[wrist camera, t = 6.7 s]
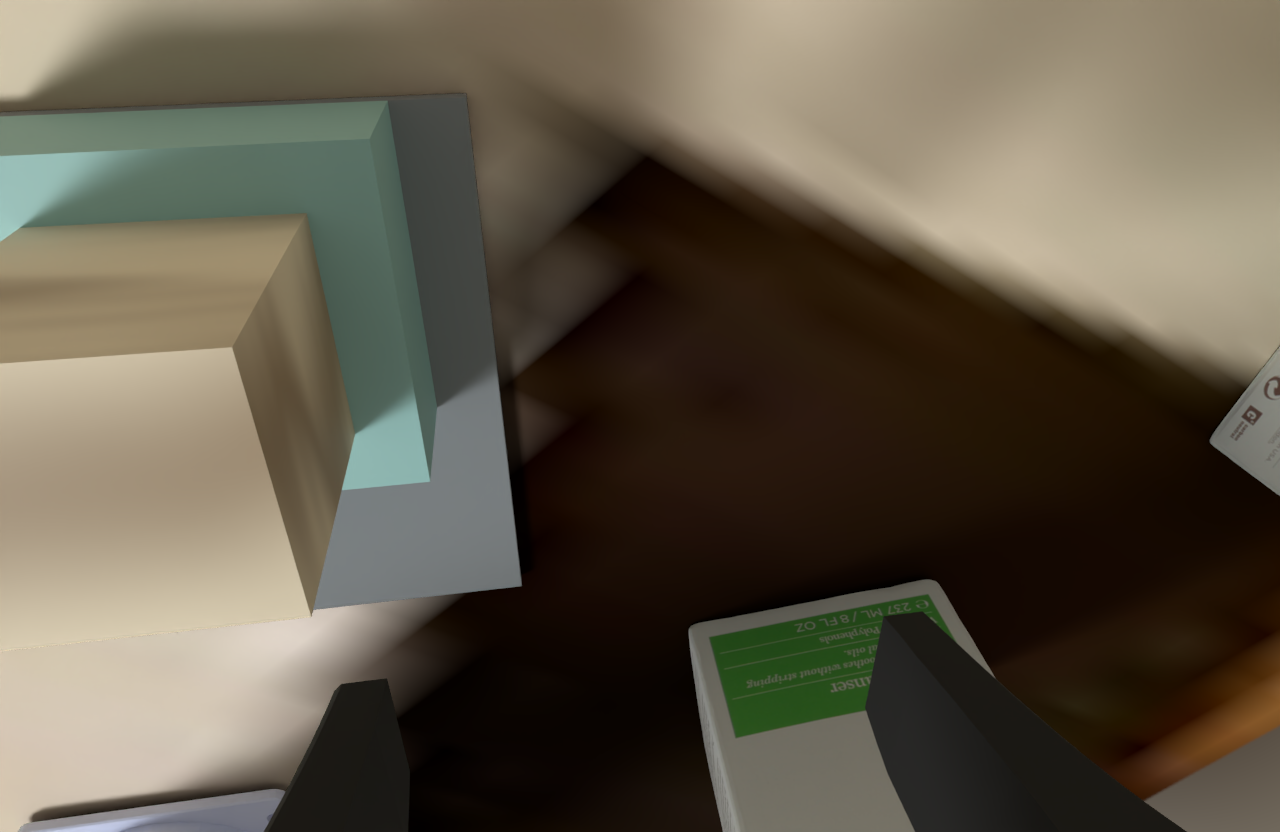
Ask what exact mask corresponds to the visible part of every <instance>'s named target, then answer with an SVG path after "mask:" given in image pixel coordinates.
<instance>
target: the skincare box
mask: <svg viewBox="0 0 1280 832" xmlns="http://www.w3.org/2000/svg"><path fill="white" fill-rule="evenodd" d="M921 611H923V612H924V613H925V614H926V615H927V616H928V617H929V618H930V619H931V620H932V621H934V622H935V623H936V624H937V625H938V626H939V627H940V628H941V629H942V630H943V631H944V632H946V633H947V634H948V635H949V636H950V637H951V638H952V639H953V640H954V641H955V642H956V643H957V644H958V645H960V646H961V647H962V648H963V649H964V650H965V651H966V652H967V653H968V654H969V655H970V656H971V657H972V658H974V659H975V660H976V661H977V662H978V663H979V664H980V665H981V666H982V667H983V668H984V669H985V670H987V671H988V672H989V673H990V674H991V675H992V676H993V677H994V675H993V673H992V672H991V670H990V668H989V667H988V665H987V663H986V662H985V660H984V658H983V657H982V655H981V653H980V652H979V650H978V648H977V647H976V645H975V643H974V641H973V640H972V638H971V636H970V635H969V633H968V631H967V630H966V628H965V627H964V625H963V624H962V622H961V621H960V619H959V617H958V615H957V614H956V612H955V610H954V608H953V607H952V605H951V603H950V602H949V600H948V598H947V596H946V595H945V593H944V591H943V590H942V588H941V587H940V585H939V584H938V583H937V582H936V581H933V580H929V579H925V580H919V581H914V582H909V583H905V584H901V585H897V586H893V587H888V588H881V589H875V590H869V591H863V592H857V593H851V594H846V595H841V596H836V597H832V598H827V599H822V600H817V601H812V602H807V603H802V604H797V605H792V606H787V607H782V608H777V609H771V610H766V611H761V612H756V613H750V614H745V615H739V616H735V617H730V618H724V619H717V620H711V621H706V622H701V623H697V624H694V625H692V626H690V628H689V643H690V652H691V660H692V667H693V674H694V681H695V688H696V695H697V702H698V708H699V715H700V721H701V727H702V733H703V739H704V745H705V750H706V755H707V760H708V765H709V770H710V774H711V779H712V784H713V788H714V793H715V797H716V802H717V806H718V811H719V815H720V820H721V825H722V829H723V832H915V831H914V829H913V826H912V824H911V822H910V820H909V818H908V816H907V814H906V812H905V810H904V808H903V805H902V803H901V801H900V799H899V797H898V795H897V793H896V791H895V789H894V786H893V784H892V782H891V780H890V778H889V776H888V773H887V770H886V768H885V765H884V762H883V759H882V756H881V754H880V751H879V748H878V745H877V742H876V739H875V736H874V733H873V730H872V727H871V724H870V721H869V718H868V715H867V712H866V709H865V705H866V700H867V696H868V691H869V686H870V681H871V676H872V671H873V666H874V661H875V656H876V651H877V646H878V641H879V636H880V631H881V626H882V621H883V616H889V615H897V614H905V613H913V612H921ZM994 678H995V677H994ZM995 679H996V678H995Z"/></svg>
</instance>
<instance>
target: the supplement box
mask: <svg viewBox="0 0 1280 832" xmlns="http://www.w3.org/2000/svg"><path fill="white" fill-rule="evenodd" d="M1210 443H1211V444H1212V445H1213V446H1214V447H1215V448H1216V449H1218V450H1219V451H1221V452H1222V453H1223V454H1224V455H1226V456H1227V457H1228V458H1230V459H1231V460H1232V461H1234V462H1235V463H1236V464H1237V465H1239V466H1240V467H1241V468H1243V469H1244V470H1245V471H1247V472H1248V473H1249V474H1251V475H1252V476H1253V477H1255V478H1256V479H1257V480H1259V481H1260V482H1262V483H1263V484H1264V485H1266V486H1267V487H1268V488H1270V489H1271V490H1272V491H1274V492H1275V493H1276V494H1278V495H1279V496H1280V347H1279V348H1278V349H1277V351H1276V352H1275V353H1274V354H1273V356H1272V357H1271V358H1270V360H1269V361H1268V362H1267V364H1266V365H1265V366H1264V367H1263V369H1262V370H1261V371H1260V372H1259V373H1258V375H1257V376H1256V378H1255V379H1254V380H1253V381H1252V383H1251V384H1250V385H1249V387H1248V388H1247V389H1246V391H1245V392H1244V393H1243V395H1242V396H1241V397H1240V398H1239V400H1238V401H1237V402H1236V404H1235V405H1234V406H1233V408H1232V409H1231V410H1230V411H1229V413H1228V414H1227V415H1226V417H1225V418H1224V419H1223V421H1222V422H1221V423H1220V425H1219V426H1218V427H1217V429H1216V430H1215V432H1214V433H1213V434H1212V436H1211V439H1210Z"/></svg>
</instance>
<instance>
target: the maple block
mask: <svg viewBox="0 0 1280 832" xmlns="http://www.w3.org/2000/svg"><path fill="white" fill-rule="evenodd" d="M354 437H355V431H354V427H353V422H352V418H351V413H350V409H349V404H348V399H347V395H346V390H345V386H344V381H343V377H342V372H341V368H340V363H339V358H338V354H337V349H336V345H335V340H334V336H333V331H332V327H331V322H330V317H329V313H328V308H327V304H326V299H325V295H324V290H323V286H322V281H321V276H320V272H319V267H318V263H317V258H316V254H315V249H314V245H313V240H312V235H311V231H310V226H309V222H308V217H307V213H299V214H279V215H260V216H240V217H220V218H201V219H181V220H162V221H142V222H123V223H103V224H84V225H64V226H45V227H25V228H19V229H17V230H16V231H15V232H13V233H12V234H10V235H9V236H8V237H6V238H5V239H4V240H2V241H1V242H0V652H1V651H10V650H19V649H28V648H37V647H46V646H55V645H64V644H73V643H82V642H91V641H100V640H109V639H118V638H127V637H136V636H145V635H154V634H164V633H173V632H182V631H191V630H200V629H209V628H218V627H227V626H236V625H245V624H254V623H263V622H272V621H281V620H290V619H299V618H308V617H311V616H312V612H313V608H314V604H315V599H316V595H317V591H318V587H319V583H320V579H321V574H322V570H323V566H324V562H325V558H326V554H327V549H328V545H329V541H330V537H331V533H332V529H333V525H334V520H335V516H336V512H337V508H338V504H339V500H340V495H341V491H342V487H343V483H344V479H345V475H346V470H347V466H348V462H349V458H350V454H351V450H352V445H353V441H354Z"/></svg>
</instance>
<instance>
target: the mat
mask: <svg viewBox="0 0 1280 832" xmlns="http://www.w3.org/2000/svg"><path fill="white" fill-rule="evenodd" d="M364 101H388V107H389V113H390V119H391V125H392V132H393V138H394V144H395V150H396V156H397V162H398V169H399V175H400V181H401V187H402V193H403V200H404V206H405V212H406V218H407V224H408V230H409V237H410V243H411V249H412V255H413V261H414V268H415V274H416V280H417V286H418V292H419V298H420V305H421V311H422V317H423V323H424V329H425V336H426V342H427V348H428V354H429V360H430V366H431V373H432V379H433V385H434V391H435V397H436V404H437V414H436V425H435V436H434V446H433V457H432V467H431V478H430V482H422V483H412V484H401V485H391V486H381V487H371V488H360V489H350V490H342V491H341V495H340V500H339V504H338V508H337V512H336V516H335V520H334V525H333V529H332V533H331V537H330V541H329V545H328V549H327V554H326V558H325V562H324V566H323V570H322V574H321V579H320V583H319V587H318V591H317V595H316V599H315V604H314V608H313V610H316V609H325V608H334V607H342V606H351V605H360V604H369V603H377V602H386V601H395V600H404V599H412V598H421V597H430V596H439V595H447V594H456V593H465V592H474V591H482V590H491V589H500V588H509V587H517V586H522V585H521V571H520V563H519V554H518V545H517V536H516V527H515V519H514V510H513V501H512V492H511V483H510V474H509V466H508V457H507V448H506V439H505V430H504V422H503V413H502V404H501V395H500V386H499V378H498V369H497V360H496V351H495V342H494V334H493V325H492V316H491V307H490V298H489V290H488V281H487V272H486V263H485V254H484V246H483V237H482V228H481V219H480V210H479V202H478V193H477V184H476V175H475V166H474V158H473V149H472V140H471V131H470V122H469V113H468V105H467V96H466V93H458V94H433V95H409V96H384V97H360V98H335V99H310V100H286V101H261V102H237V103H212V104H188V105H163V106H138V107H114V108H89V109H65V110H40V111H16V112H0V117H1V116H25V115H49V114H73V113H97V112H122V111H146V110H170V109H194V108H218V107H243V106H267V105H291V104H315V103H339V102H364Z"/></svg>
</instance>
